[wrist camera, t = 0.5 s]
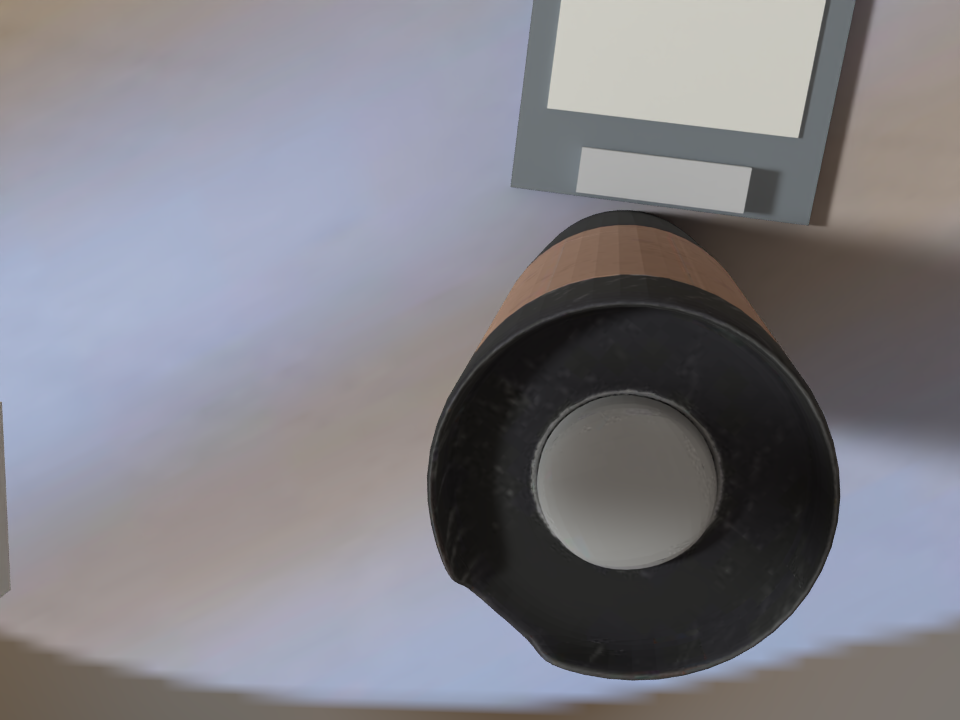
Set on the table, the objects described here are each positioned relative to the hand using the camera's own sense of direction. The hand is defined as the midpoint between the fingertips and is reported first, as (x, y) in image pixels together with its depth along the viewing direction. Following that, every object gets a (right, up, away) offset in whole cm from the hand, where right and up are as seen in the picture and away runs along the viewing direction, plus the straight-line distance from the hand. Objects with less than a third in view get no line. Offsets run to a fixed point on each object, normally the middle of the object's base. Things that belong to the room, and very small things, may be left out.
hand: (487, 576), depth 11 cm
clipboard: (+8, +17, +21) cm, 28 cm away
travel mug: (+5, +5, +24) cm, 26 cm away
